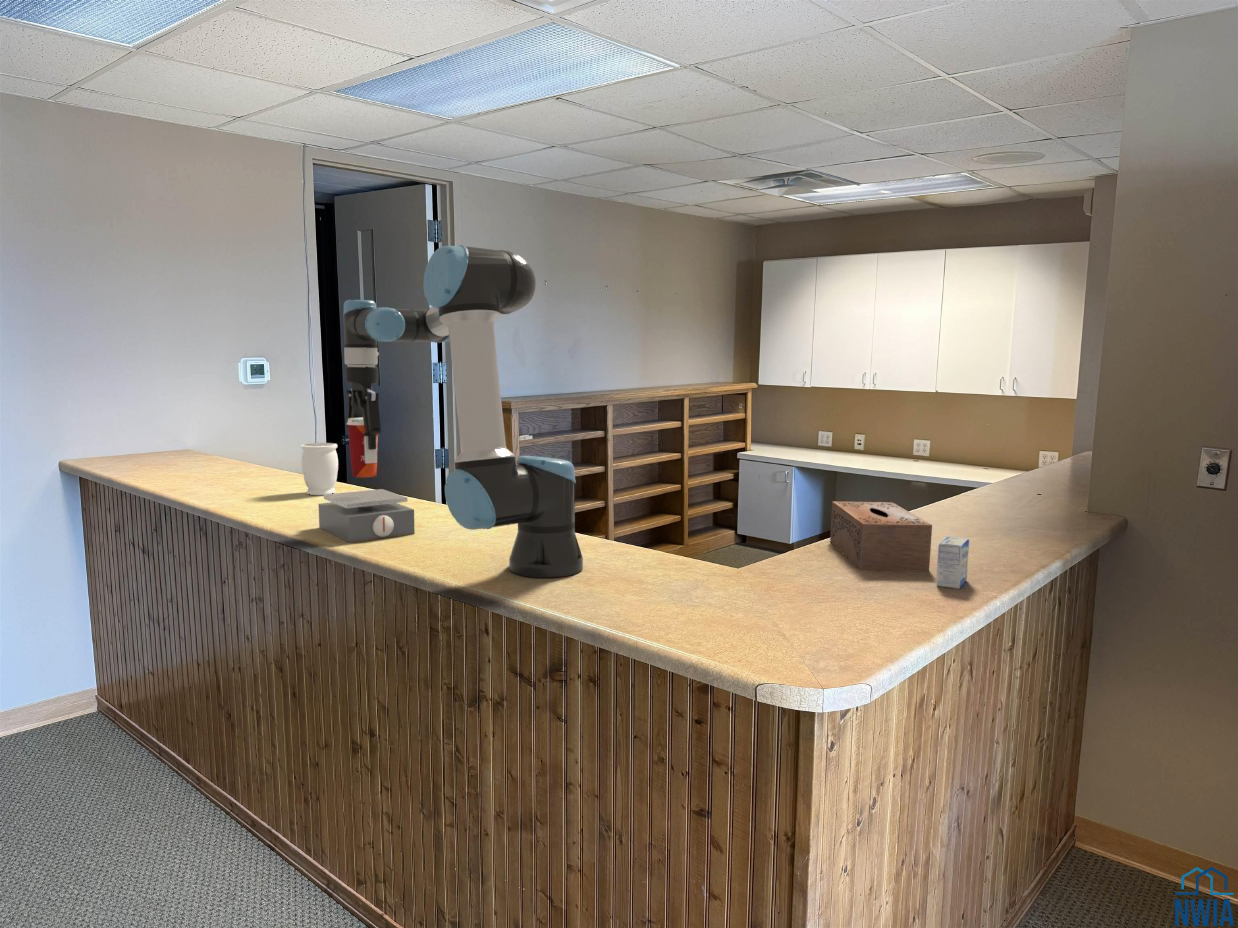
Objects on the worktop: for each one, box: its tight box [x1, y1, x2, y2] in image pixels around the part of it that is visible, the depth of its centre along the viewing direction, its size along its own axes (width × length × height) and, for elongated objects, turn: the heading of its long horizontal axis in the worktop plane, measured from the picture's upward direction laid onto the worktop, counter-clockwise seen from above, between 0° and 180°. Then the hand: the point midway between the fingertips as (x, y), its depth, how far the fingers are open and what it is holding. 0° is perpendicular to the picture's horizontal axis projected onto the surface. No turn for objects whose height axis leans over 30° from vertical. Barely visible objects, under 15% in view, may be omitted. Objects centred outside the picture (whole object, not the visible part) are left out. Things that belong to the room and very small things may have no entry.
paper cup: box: [346, 417, 379, 478], centre depth 203 cm, size 8×8×14 cm
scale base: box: [318, 501, 416, 544], centre depth 205 cm, size 21×16×6 cm
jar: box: [300, 442, 339, 496], centre depth 254 cm, size 11×10×15 cm
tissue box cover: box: [829, 501, 933, 572], centre depth 188 cm, size 26×14×10 cm, turn 0°
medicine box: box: [935, 536, 970, 590], centre depth 166 cm, size 8×4×9 cm, turn 148°
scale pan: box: [323, 488, 409, 508], centre depth 204 cm, size 15×15×2 cm
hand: (364, 460), depth 203 cm, fingers closed on paper cup, 8 cm apart
